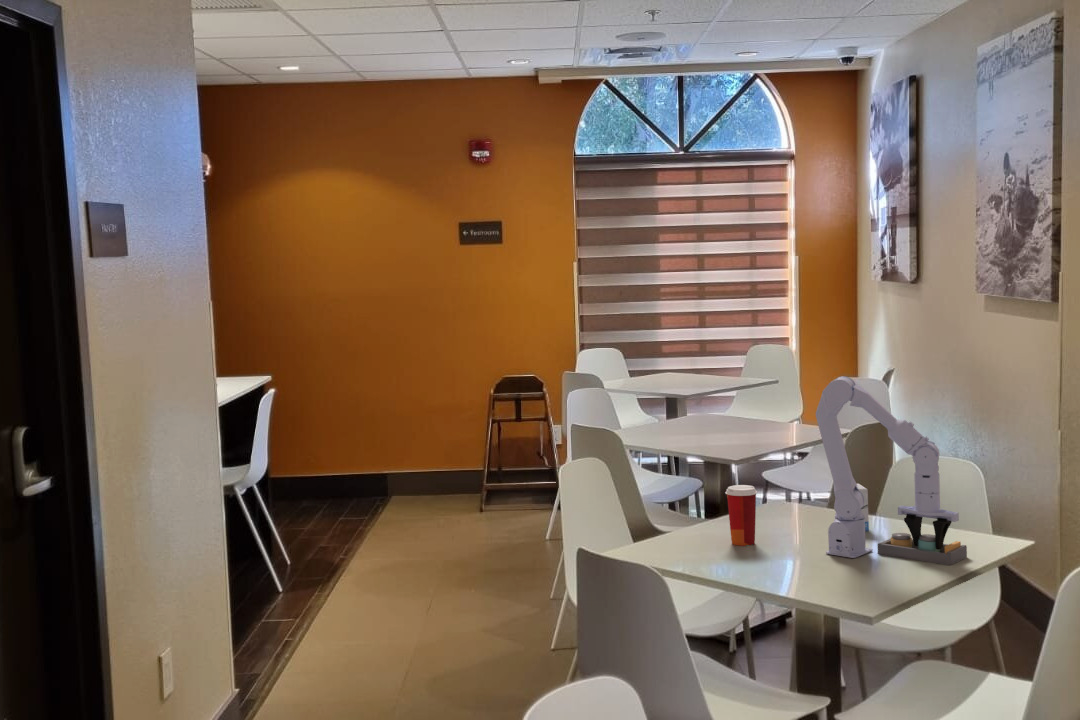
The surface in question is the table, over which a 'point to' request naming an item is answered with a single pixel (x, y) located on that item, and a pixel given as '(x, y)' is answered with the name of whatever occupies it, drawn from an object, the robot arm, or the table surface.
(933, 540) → the teal jar
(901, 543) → the amber jar
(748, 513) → the coffee cup
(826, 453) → the robot arm
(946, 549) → the plate
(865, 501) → the ink box
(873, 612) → the table surface
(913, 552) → the grey rectangular tray
